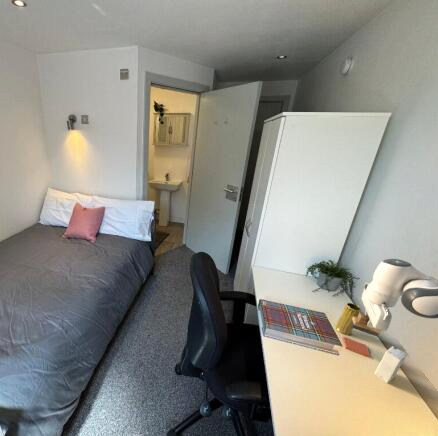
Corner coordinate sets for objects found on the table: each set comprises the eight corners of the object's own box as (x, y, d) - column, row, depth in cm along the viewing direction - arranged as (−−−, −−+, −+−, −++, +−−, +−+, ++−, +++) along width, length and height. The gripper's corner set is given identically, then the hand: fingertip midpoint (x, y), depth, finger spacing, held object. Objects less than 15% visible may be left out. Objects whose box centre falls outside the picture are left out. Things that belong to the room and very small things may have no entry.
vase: (349, 328, 111) (360, 305, 106) (352, 337, 106) (363, 313, 101) (334, 322, 114) (344, 300, 109) (335, 331, 109) (346, 307, 104)
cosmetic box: (387, 384, 87) (401, 361, 82) (372, 373, 91) (385, 351, 86) (394, 377, 89) (408, 355, 85) (380, 367, 93) (392, 345, 89)
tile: (365, 346, 102) (366, 344, 101) (368, 357, 97) (370, 355, 97) (342, 338, 106) (343, 336, 105) (345, 348, 101) (346, 346, 100)
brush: (374, 330, 97) (380, 318, 95) (377, 337, 94) (383, 325, 91) (350, 322, 101) (355, 310, 98) (352, 328, 97) (358, 316, 95)
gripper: (401, 316, 81) (386, 344, 86) (383, 285, 97) (371, 311, 102) (378, 309, 84) (364, 337, 89) (364, 280, 100) (353, 305, 105)
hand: (368, 323), depth 96 cm, fingers closed on brush, 2 cm apart
